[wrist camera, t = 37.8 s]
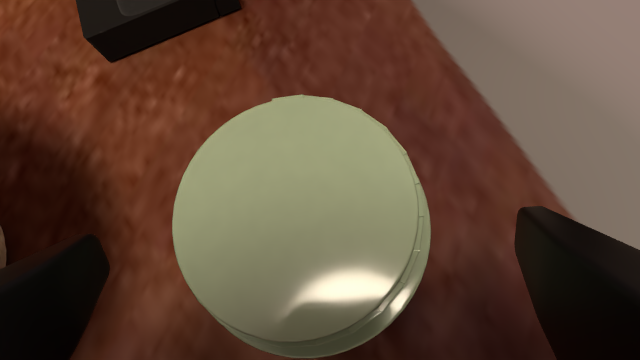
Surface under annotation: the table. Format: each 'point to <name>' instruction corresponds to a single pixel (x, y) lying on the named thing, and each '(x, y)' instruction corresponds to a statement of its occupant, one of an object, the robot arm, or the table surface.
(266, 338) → the jar
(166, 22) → the vhs tape
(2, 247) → the bowl
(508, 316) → the table surface
